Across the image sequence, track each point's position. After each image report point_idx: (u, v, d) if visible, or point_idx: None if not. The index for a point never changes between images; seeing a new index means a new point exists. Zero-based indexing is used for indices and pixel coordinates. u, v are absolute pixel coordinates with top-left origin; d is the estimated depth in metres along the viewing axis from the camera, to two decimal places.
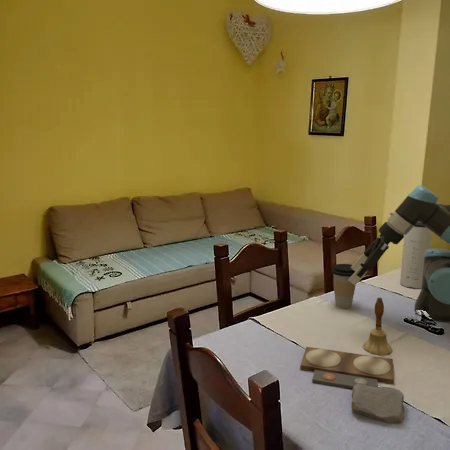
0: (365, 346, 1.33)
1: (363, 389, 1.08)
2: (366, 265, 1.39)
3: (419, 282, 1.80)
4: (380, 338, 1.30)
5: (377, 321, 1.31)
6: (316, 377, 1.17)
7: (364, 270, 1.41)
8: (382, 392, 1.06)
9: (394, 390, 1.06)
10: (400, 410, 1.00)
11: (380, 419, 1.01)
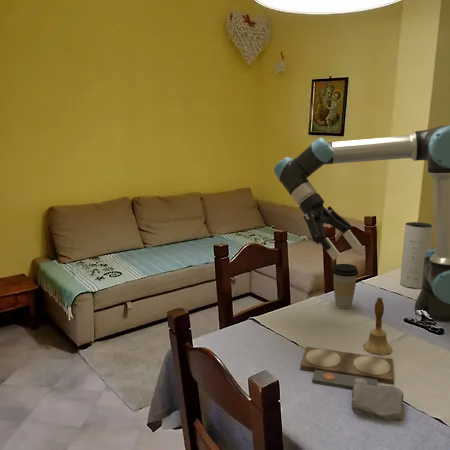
0: (365, 346, 1.33)
1: (363, 387, 1.09)
2: (313, 238, 1.34)
3: (419, 282, 1.80)
4: (380, 338, 1.30)
5: (377, 321, 1.31)
6: (316, 377, 1.17)
7: (322, 241, 1.34)
8: (382, 390, 1.07)
9: (394, 388, 1.06)
10: (400, 408, 1.01)
11: (380, 417, 1.01)
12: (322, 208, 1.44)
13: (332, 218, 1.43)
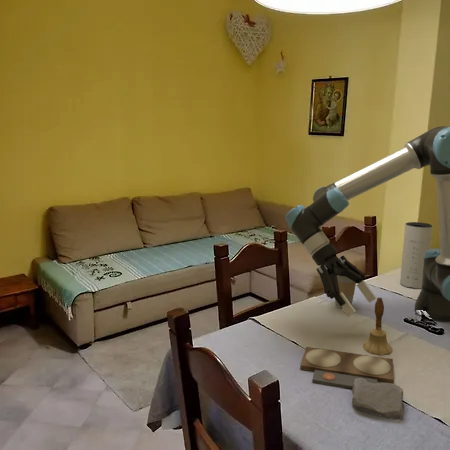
0: (365, 346, 1.33)
1: (363, 385, 1.10)
2: (327, 294, 1.30)
3: (419, 282, 1.80)
4: (380, 338, 1.30)
5: (377, 321, 1.31)
6: (316, 377, 1.17)
7: (336, 297, 1.30)
8: (382, 388, 1.08)
9: (394, 386, 1.07)
10: (400, 405, 1.02)
11: (381, 414, 1.02)
12: (335, 258, 1.40)
13: (346, 269, 1.39)
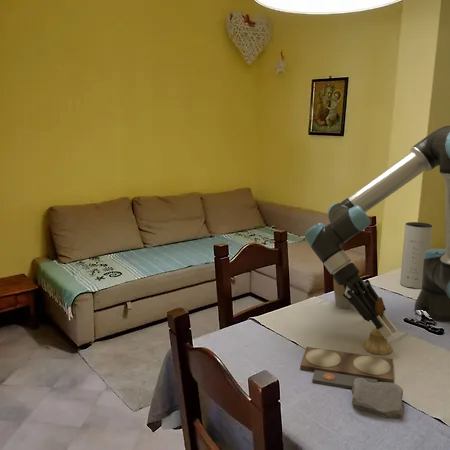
0: (365, 346, 1.33)
1: (363, 384, 1.10)
2: (364, 316, 1.30)
3: (419, 282, 1.80)
4: (380, 338, 1.30)
5: None
6: (316, 377, 1.17)
7: (373, 320, 1.29)
8: (382, 387, 1.08)
9: (393, 385, 1.08)
10: (400, 404, 1.02)
11: (381, 414, 1.03)
12: (357, 276, 1.37)
13: (366, 292, 1.34)
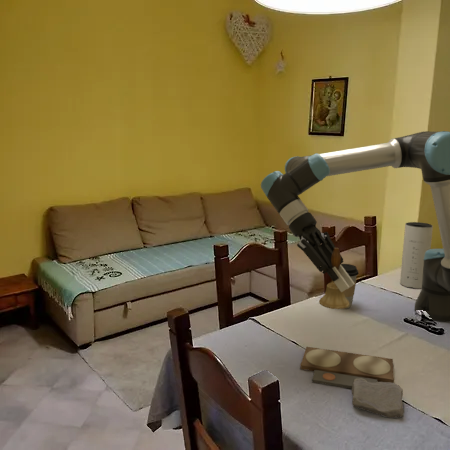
0: (321, 300, 1.24)
1: (363, 384, 1.10)
2: (319, 268, 1.20)
3: (419, 282, 1.80)
4: (337, 291, 1.21)
5: None
6: (316, 377, 1.17)
7: (329, 271, 1.20)
8: (382, 387, 1.08)
9: (393, 385, 1.08)
10: (401, 404, 1.02)
11: (381, 414, 1.03)
12: (315, 227, 1.28)
13: (323, 243, 1.25)
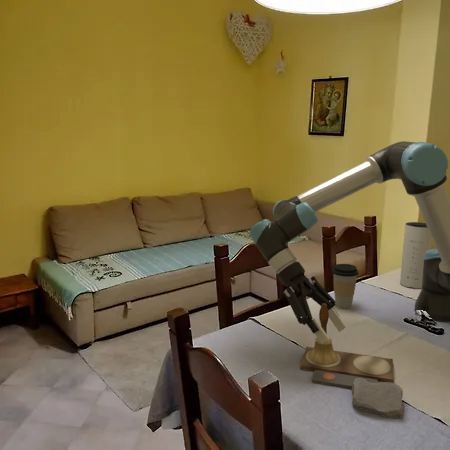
0: (310, 355, 1.26)
1: (363, 384, 1.10)
2: (299, 320, 1.19)
3: (419, 282, 1.80)
4: (325, 346, 1.23)
5: (322, 328, 1.24)
6: (316, 377, 1.17)
7: (309, 323, 1.19)
8: (382, 387, 1.08)
9: (393, 385, 1.08)
10: (400, 404, 1.02)
11: (381, 414, 1.03)
12: (303, 277, 1.29)
13: (313, 291, 1.27)
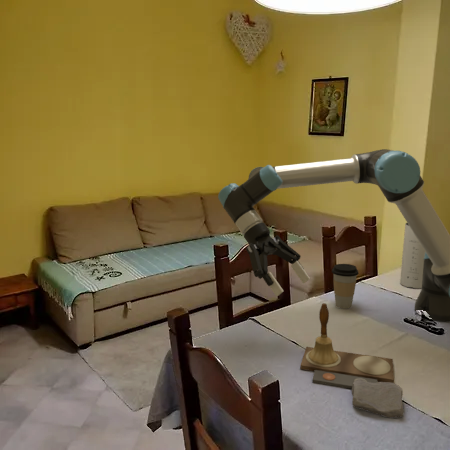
0: (310, 355, 1.26)
1: (362, 384, 1.10)
2: (255, 273, 1.24)
3: (419, 282, 1.80)
4: (325, 346, 1.23)
5: (322, 328, 1.24)
6: (316, 377, 1.17)
7: (264, 276, 1.24)
8: (382, 387, 1.08)
9: (393, 385, 1.08)
10: (401, 404, 1.02)
11: (381, 414, 1.03)
12: (268, 238, 1.34)
13: (279, 249, 1.34)
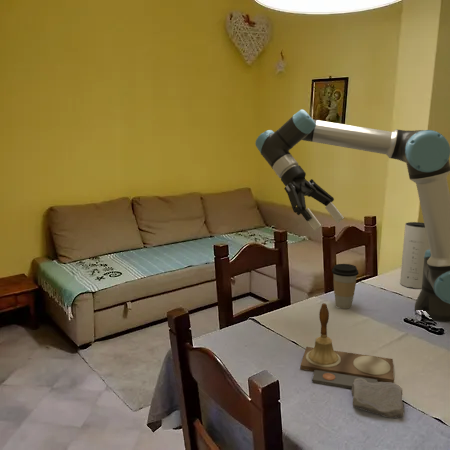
0: (310, 355, 1.26)
1: (362, 384, 1.10)
2: (294, 209, 1.32)
3: (419, 282, 1.80)
4: (325, 346, 1.23)
5: (322, 328, 1.24)
6: (316, 377, 1.17)
7: (303, 212, 1.32)
8: (382, 387, 1.08)
9: (393, 385, 1.08)
10: (401, 404, 1.02)
11: (382, 414, 1.03)
12: (304, 180, 1.42)
13: (314, 190, 1.42)
